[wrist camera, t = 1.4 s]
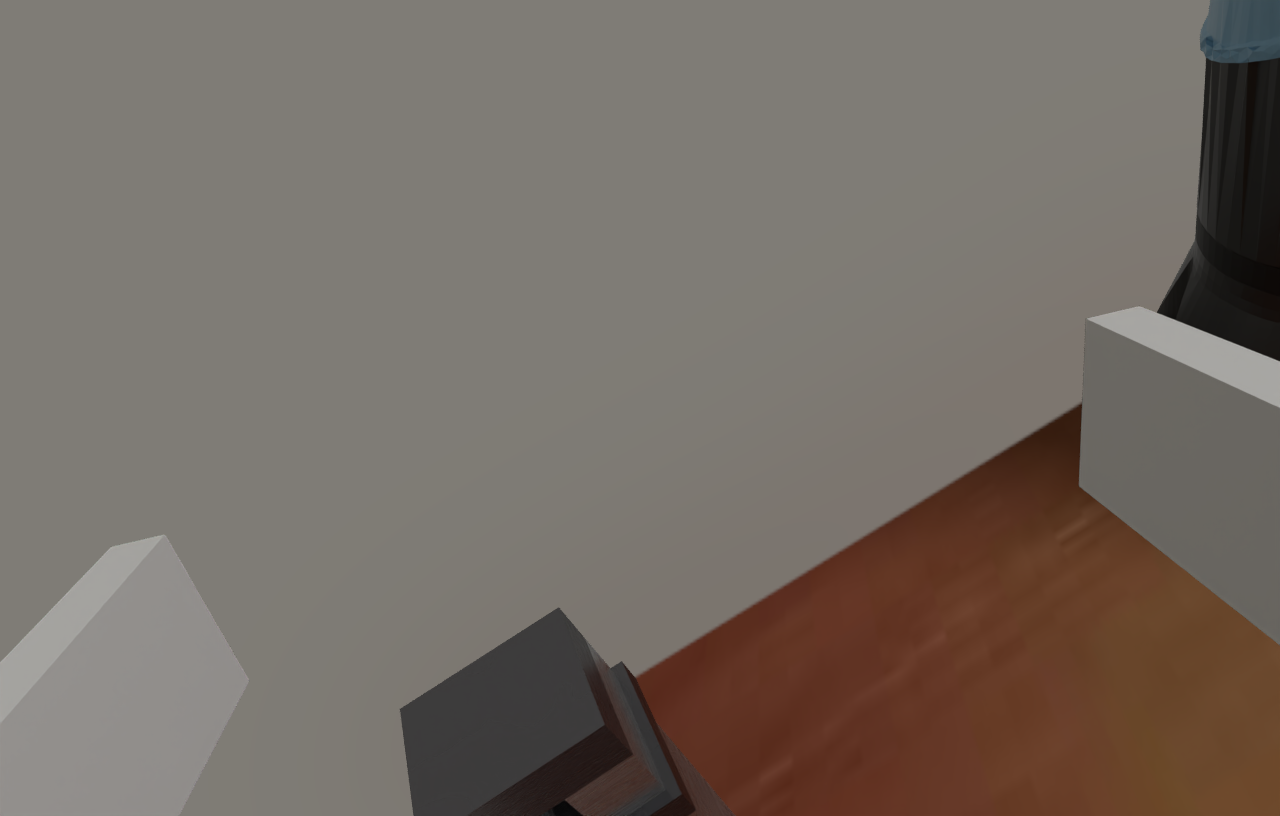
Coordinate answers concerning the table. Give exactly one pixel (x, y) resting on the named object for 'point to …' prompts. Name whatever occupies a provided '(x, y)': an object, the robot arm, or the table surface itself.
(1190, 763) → the table surface
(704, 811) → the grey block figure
